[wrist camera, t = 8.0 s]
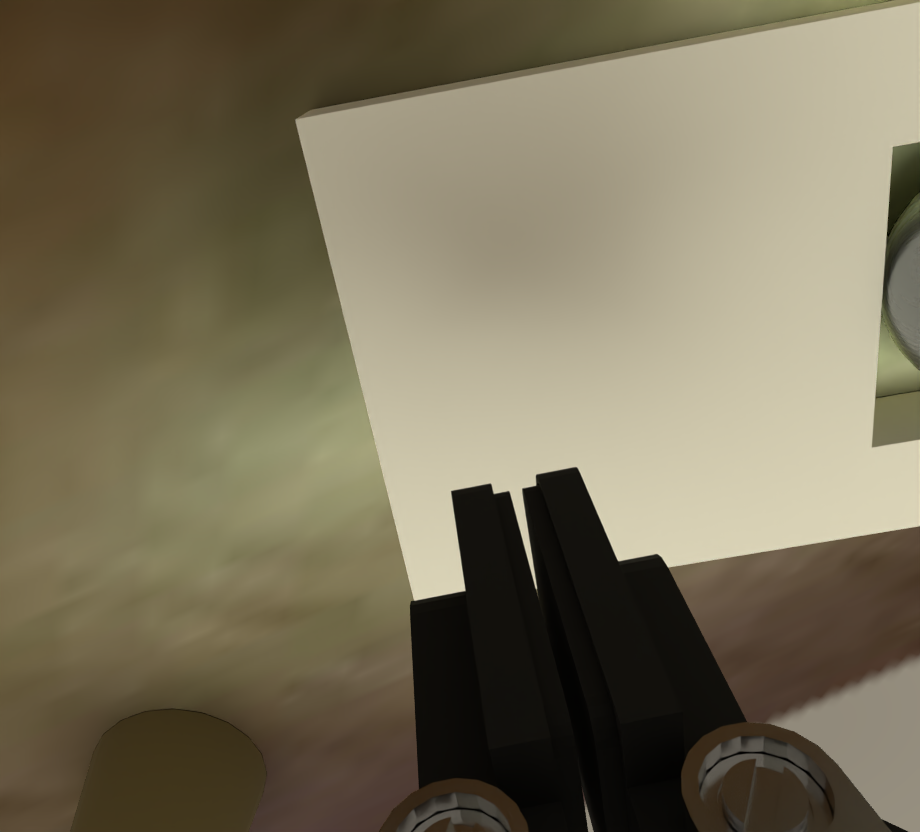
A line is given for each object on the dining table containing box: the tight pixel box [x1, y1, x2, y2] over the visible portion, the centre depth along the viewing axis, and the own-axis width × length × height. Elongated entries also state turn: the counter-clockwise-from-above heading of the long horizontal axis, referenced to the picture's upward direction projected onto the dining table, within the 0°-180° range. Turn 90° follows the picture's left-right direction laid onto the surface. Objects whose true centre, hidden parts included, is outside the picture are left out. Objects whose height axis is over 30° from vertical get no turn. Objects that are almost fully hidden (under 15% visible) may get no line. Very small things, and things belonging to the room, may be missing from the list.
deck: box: [295, 0, 920, 601], centre depth 20 cm, size 13×22×2 cm, turn 100°
